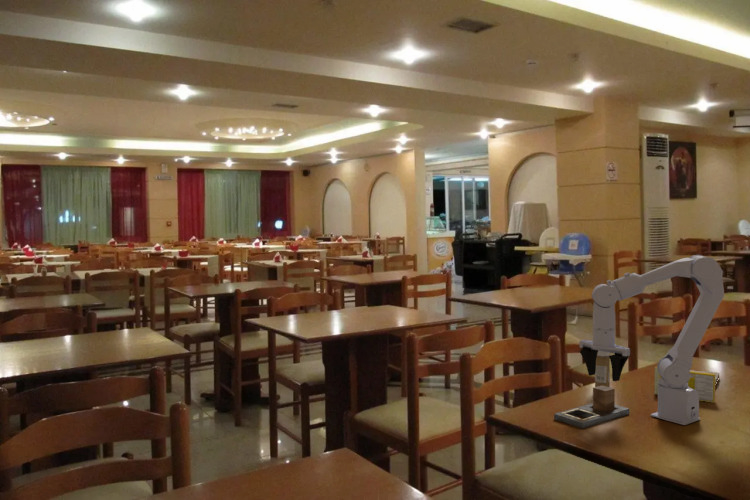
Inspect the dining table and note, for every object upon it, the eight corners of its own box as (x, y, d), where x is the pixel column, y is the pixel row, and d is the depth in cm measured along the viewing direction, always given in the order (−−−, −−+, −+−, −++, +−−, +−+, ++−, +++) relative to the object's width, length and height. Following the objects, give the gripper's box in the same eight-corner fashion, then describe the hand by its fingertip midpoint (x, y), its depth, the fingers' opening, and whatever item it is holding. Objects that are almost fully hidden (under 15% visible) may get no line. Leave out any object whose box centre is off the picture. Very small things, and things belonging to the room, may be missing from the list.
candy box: (715, 401, 176) (716, 373, 176) (714, 403, 174) (714, 375, 174) (655, 392, 186) (656, 366, 186) (653, 394, 184) (654, 367, 184)
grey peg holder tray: (629, 413, 166) (629, 407, 166) (582, 428, 155) (582, 422, 155) (600, 405, 173) (600, 400, 173) (554, 419, 162) (554, 413, 162)
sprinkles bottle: (613, 392, 187) (613, 348, 186) (603, 394, 184) (604, 350, 184) (600, 388, 191) (600, 346, 190) (591, 391, 188) (591, 348, 187)
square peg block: (614, 413, 166) (614, 388, 166) (605, 416, 164) (605, 391, 164) (601, 410, 170) (601, 385, 169) (592, 412, 167) (592, 387, 167)
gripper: (572, 326, 170) (572, 374, 170) (618, 334, 157) (618, 385, 158) (588, 323, 173) (588, 370, 174) (634, 330, 161) (634, 381, 162)
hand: (603, 377), depth 166 cm, fingers open, 7 cm apart
